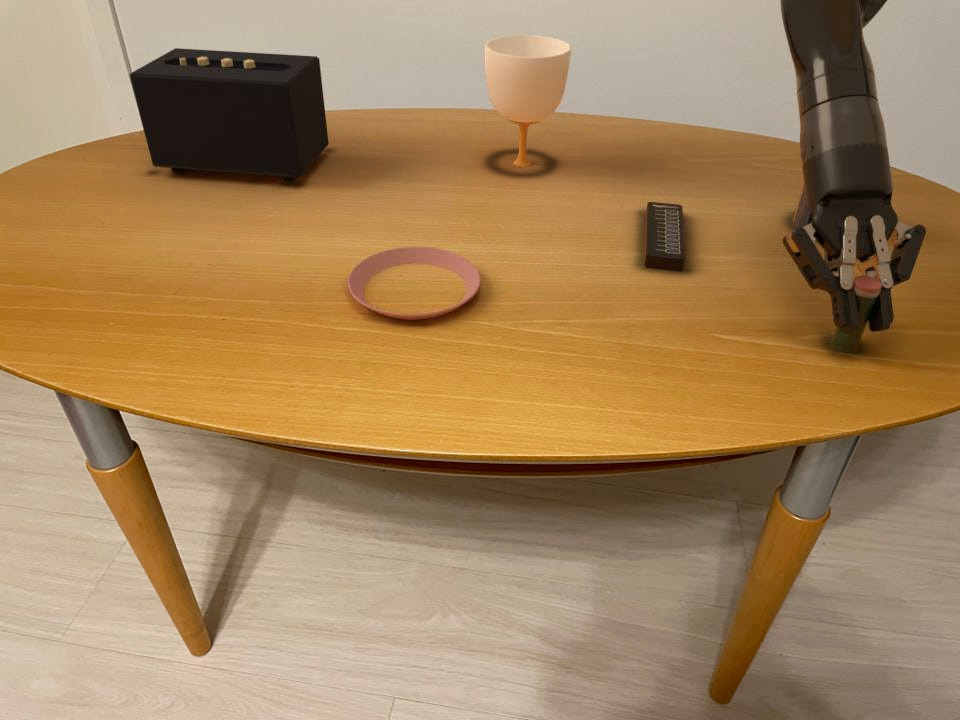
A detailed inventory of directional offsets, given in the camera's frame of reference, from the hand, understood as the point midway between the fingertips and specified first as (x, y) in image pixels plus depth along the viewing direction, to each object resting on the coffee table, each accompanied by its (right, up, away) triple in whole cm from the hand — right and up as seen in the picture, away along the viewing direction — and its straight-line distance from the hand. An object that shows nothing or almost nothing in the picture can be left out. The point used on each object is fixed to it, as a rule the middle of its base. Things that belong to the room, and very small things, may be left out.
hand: (865, 330), depth 70 cm
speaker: (-71, +26, +39) cm, 85 cm away
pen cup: (+8, +14, +25) cm, 29 cm away
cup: (-30, +26, +40) cm, 56 cm away
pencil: (0, -2, +4) cm, 4 cm away
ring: (-44, +4, +11) cm, 45 cm away
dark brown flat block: (-14, +11, +21) cm, 28 cm away
